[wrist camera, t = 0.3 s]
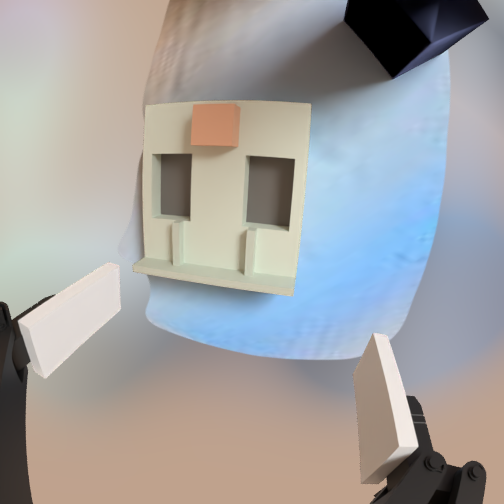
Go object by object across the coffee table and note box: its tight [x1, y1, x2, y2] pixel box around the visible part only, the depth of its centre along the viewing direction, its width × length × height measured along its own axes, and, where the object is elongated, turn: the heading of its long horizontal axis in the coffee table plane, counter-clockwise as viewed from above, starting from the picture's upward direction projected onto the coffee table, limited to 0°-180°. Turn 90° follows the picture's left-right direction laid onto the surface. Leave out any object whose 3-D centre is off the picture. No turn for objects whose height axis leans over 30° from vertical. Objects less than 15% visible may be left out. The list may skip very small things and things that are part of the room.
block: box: [191, 104, 241, 147], centre depth 32 cm, size 5×5×3 cm
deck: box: [133, 100, 311, 296], centre depth 36 cm, size 23×22×6 cm
